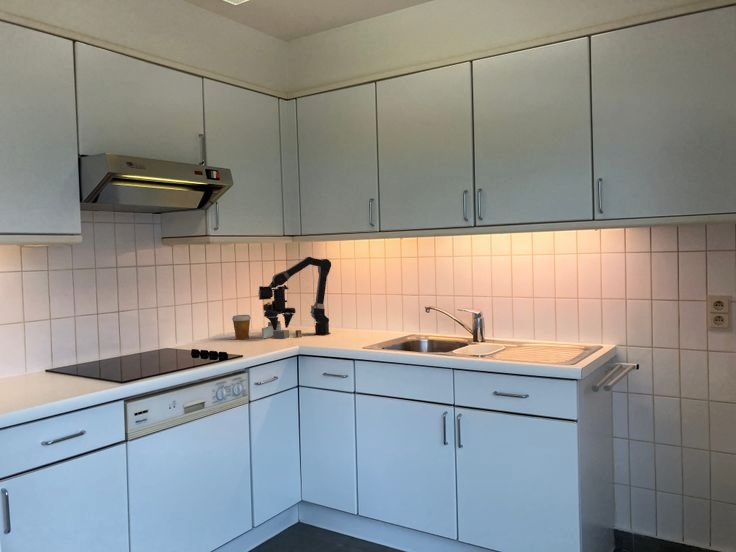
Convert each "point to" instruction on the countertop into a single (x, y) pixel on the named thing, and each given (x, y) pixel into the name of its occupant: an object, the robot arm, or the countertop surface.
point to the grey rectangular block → (281, 334)
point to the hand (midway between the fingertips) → (280, 329)
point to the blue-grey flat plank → (269, 331)
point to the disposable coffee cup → (241, 326)
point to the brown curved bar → (298, 332)
